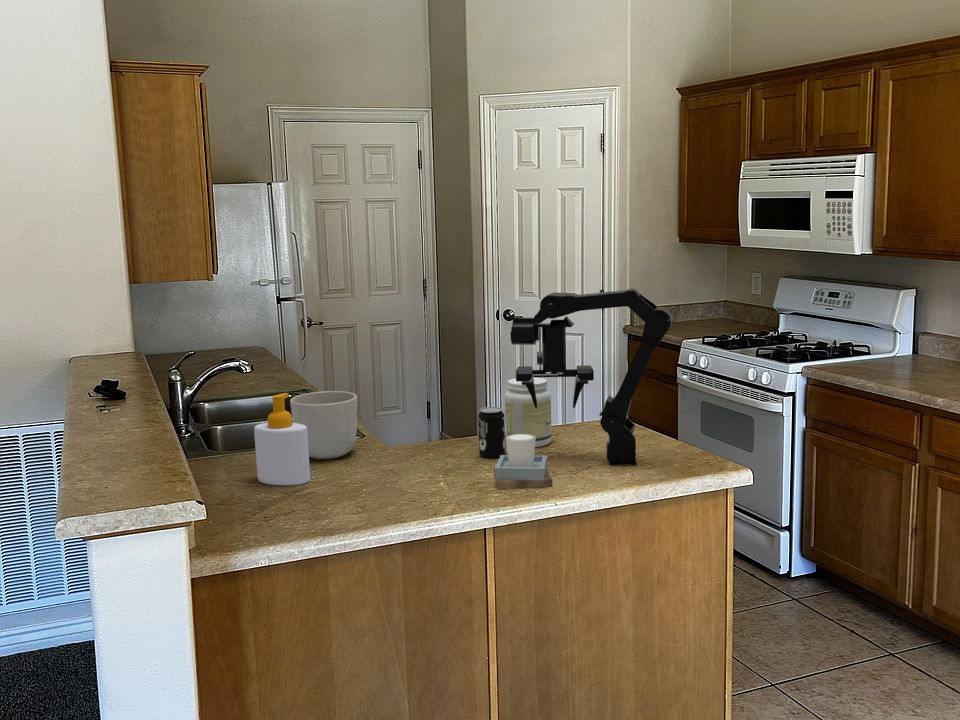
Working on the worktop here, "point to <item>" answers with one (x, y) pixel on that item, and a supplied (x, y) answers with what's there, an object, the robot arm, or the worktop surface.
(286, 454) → the soap bottle
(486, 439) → the beverage can
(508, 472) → the slab top
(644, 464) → the worktop surface
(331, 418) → the planter
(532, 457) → the shot glass
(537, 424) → the supplement tub
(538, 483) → the slab bottom
